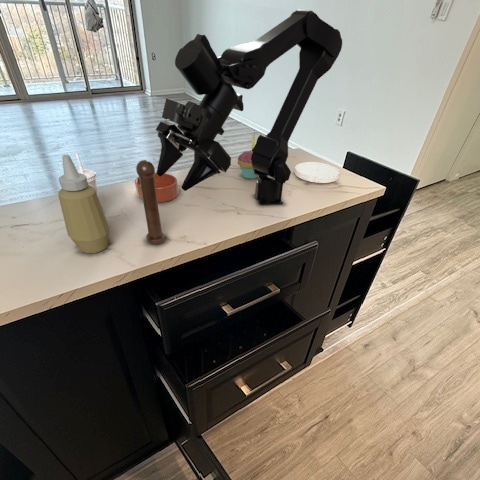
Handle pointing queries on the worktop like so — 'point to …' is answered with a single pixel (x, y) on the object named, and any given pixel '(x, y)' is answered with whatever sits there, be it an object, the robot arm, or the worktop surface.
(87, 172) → the smoothie
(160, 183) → the bowl
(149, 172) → the muddler
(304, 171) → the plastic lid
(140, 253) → the worktop surface
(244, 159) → the cupcake
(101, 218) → the squeeze bottle
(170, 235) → the worktop surface
